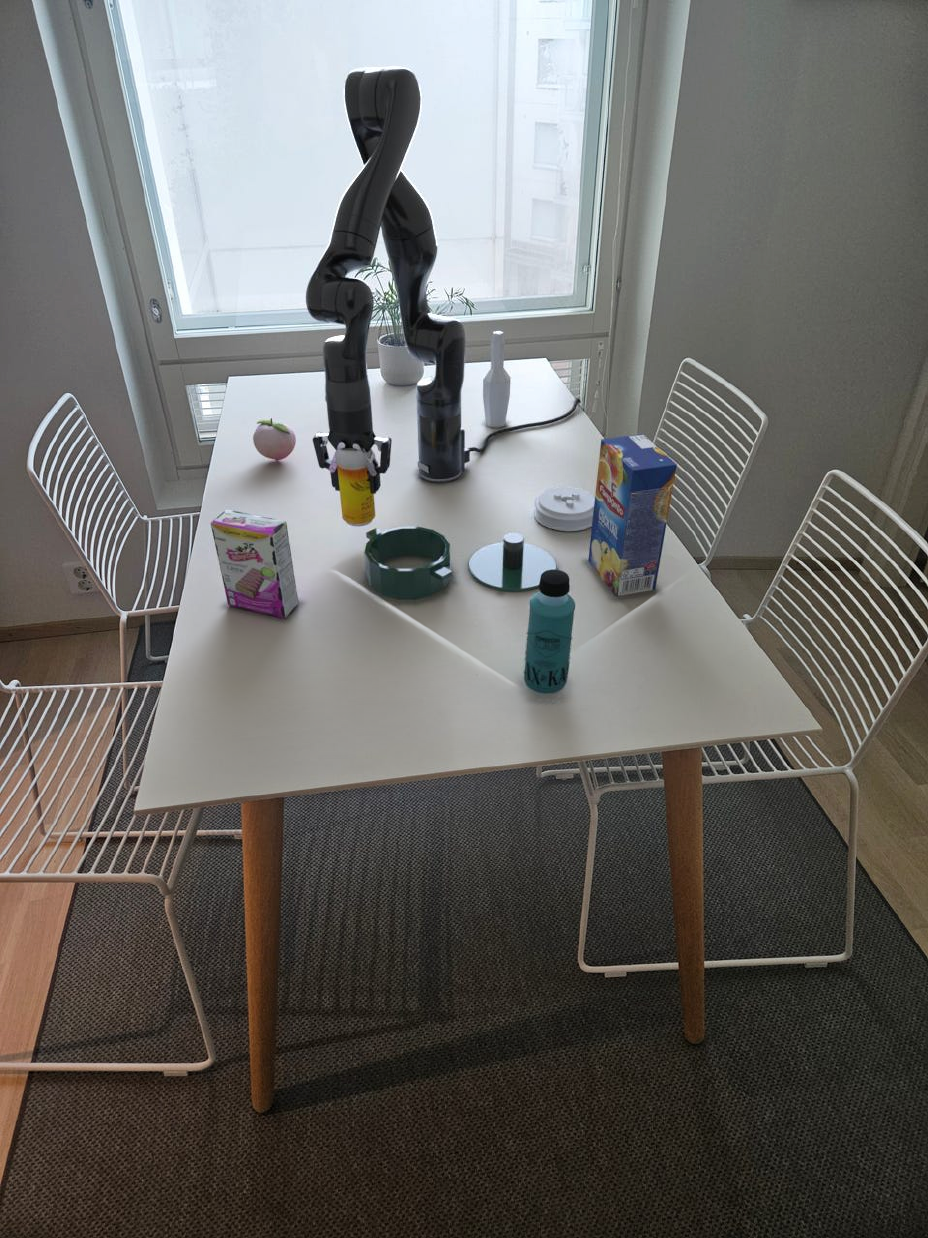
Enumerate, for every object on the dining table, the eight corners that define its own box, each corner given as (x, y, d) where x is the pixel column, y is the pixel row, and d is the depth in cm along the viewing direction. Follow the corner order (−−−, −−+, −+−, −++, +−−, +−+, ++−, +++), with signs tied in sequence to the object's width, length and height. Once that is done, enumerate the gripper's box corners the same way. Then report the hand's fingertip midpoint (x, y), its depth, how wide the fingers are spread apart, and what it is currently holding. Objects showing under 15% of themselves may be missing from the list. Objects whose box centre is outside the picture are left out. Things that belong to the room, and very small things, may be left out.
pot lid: (510, 538, 153) (511, 507, 149) (573, 570, 144) (576, 537, 140) (451, 569, 144) (450, 537, 140) (515, 605, 135) (516, 572, 131)
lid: (606, 511, 161) (608, 488, 158) (586, 540, 152) (588, 517, 149) (546, 498, 165) (548, 476, 162) (524, 526, 156) (525, 504, 153)
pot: (403, 542, 152) (401, 512, 148) (478, 584, 140) (478, 554, 137) (341, 572, 144) (338, 541, 140) (416, 619, 132) (414, 588, 128)
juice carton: (655, 592, 138) (677, 464, 124) (615, 598, 137) (633, 470, 122) (625, 556, 148) (642, 433, 133) (587, 562, 146) (601, 439, 132)
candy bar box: (226, 607, 135) (207, 522, 125) (242, 591, 139) (225, 507, 129) (285, 620, 132) (271, 534, 122) (300, 603, 136) (287, 519, 126)
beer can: (370, 529, 147) (364, 453, 138) (338, 526, 148) (330, 450, 139) (379, 513, 151) (374, 439, 142) (348, 510, 152) (341, 436, 143)
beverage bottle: (519, 675, 121) (526, 563, 109) (563, 672, 121) (574, 561, 109) (526, 704, 116) (533, 590, 104) (571, 701, 116) (584, 588, 104)
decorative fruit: (248, 465, 178) (241, 422, 172) (269, 450, 184) (262, 408, 178) (285, 472, 175) (278, 429, 169) (304, 457, 181) (299, 415, 175)
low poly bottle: (513, 422, 197) (517, 331, 184) (500, 431, 193) (503, 338, 180) (491, 416, 200) (493, 326, 187) (477, 425, 195) (479, 333, 182)
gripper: (395, 396, 138) (400, 484, 148) (315, 390, 140) (325, 477, 150) (384, 413, 132) (389, 503, 142) (300, 406, 134) (311, 496, 144)
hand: (356, 490), depth 146 cm, fingers closed on beer can, 6 cm apart
